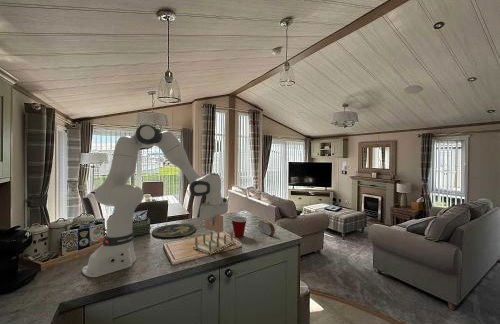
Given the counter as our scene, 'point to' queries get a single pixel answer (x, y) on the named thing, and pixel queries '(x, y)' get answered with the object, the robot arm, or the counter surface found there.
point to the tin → (266, 228)
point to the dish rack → (213, 243)
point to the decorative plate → (173, 231)
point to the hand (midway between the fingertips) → (214, 224)
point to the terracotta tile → (215, 224)
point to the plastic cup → (239, 225)
